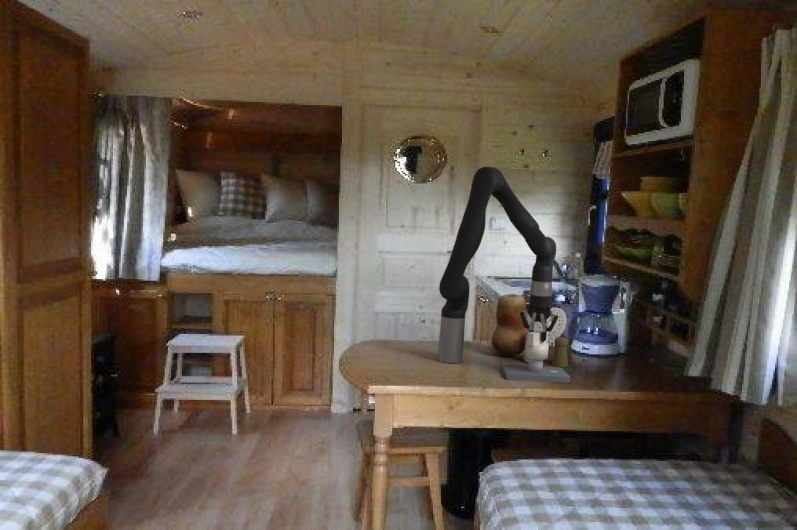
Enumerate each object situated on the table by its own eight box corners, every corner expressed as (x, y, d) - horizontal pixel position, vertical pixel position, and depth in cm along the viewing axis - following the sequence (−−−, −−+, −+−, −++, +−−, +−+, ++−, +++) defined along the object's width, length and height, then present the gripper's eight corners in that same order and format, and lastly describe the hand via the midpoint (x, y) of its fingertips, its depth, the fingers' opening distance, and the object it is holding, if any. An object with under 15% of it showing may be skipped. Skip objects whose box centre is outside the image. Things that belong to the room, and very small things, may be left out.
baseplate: (506, 379, 214) (508, 360, 213) (501, 369, 226) (502, 351, 225) (569, 382, 214) (571, 363, 213) (561, 372, 226) (562, 354, 225)
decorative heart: (559, 343, 272) (562, 305, 270) (568, 349, 261) (572, 310, 260) (520, 343, 270) (522, 304, 268) (528, 349, 259) (531, 309, 257)
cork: (568, 368, 232) (570, 340, 231) (551, 366, 233) (554, 338, 232) (567, 364, 238) (569, 336, 237) (551, 362, 239) (553, 335, 238)
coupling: (538, 361, 213) (540, 335, 212) (519, 356, 218) (520, 331, 217) (554, 356, 220) (555, 331, 219) (534, 351, 226) (536, 327, 225)
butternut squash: (487, 357, 243) (491, 295, 240) (494, 349, 255) (498, 290, 252) (522, 362, 238) (527, 298, 235) (528, 354, 250) (532, 294, 248)
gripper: (518, 292, 216) (515, 340, 218) (559, 297, 210) (555, 346, 212) (522, 290, 222) (519, 336, 224) (562, 294, 217) (558, 341, 219)
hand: (537, 341), depth 218 cm, fingers closed on coupling, 3 cm apart
